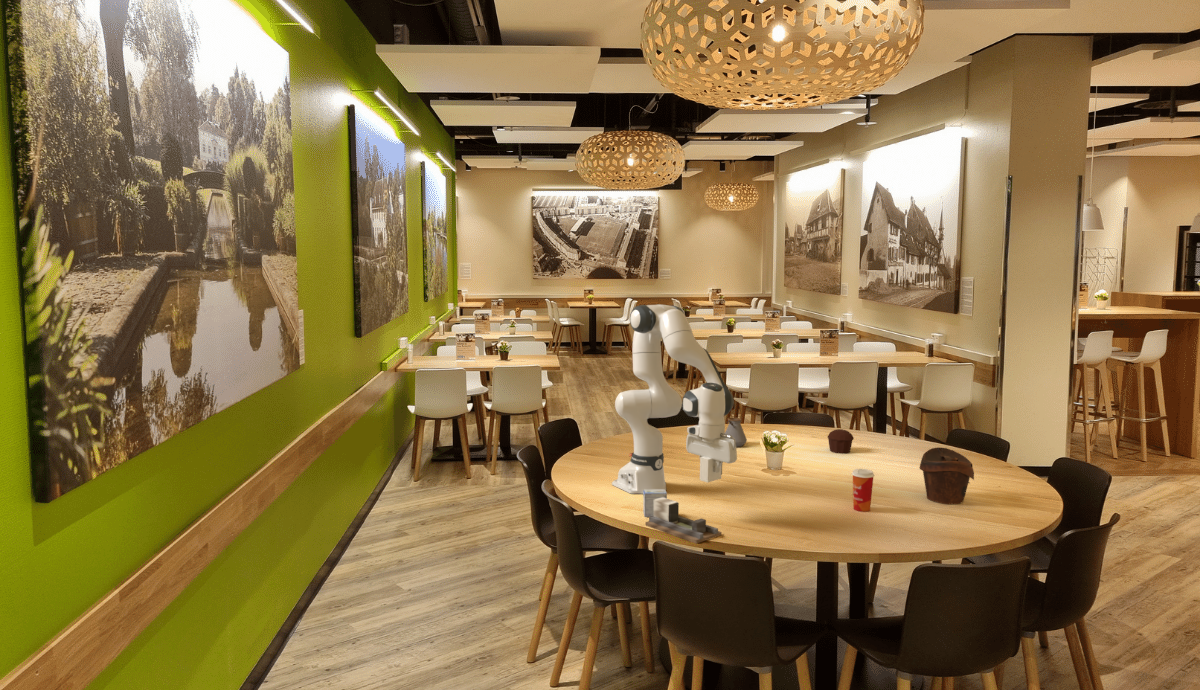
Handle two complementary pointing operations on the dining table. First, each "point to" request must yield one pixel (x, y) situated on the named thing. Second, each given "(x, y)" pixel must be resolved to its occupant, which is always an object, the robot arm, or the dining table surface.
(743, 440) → the coffee pot
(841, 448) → the muffin
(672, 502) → the rail
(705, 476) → the white box
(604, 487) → the dining table surface
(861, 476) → the paper cup
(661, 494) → the medicine box
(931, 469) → the chocolate cupcake
